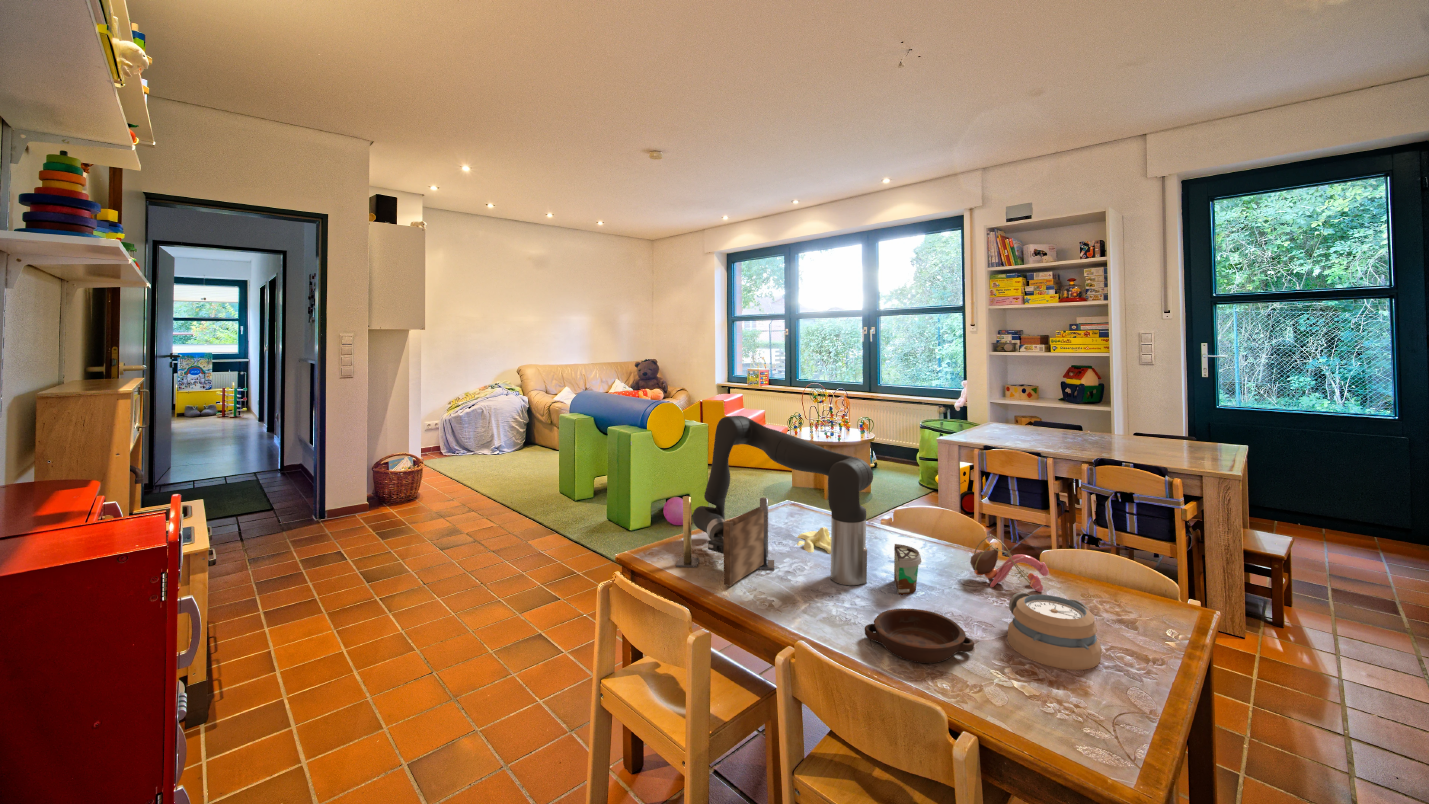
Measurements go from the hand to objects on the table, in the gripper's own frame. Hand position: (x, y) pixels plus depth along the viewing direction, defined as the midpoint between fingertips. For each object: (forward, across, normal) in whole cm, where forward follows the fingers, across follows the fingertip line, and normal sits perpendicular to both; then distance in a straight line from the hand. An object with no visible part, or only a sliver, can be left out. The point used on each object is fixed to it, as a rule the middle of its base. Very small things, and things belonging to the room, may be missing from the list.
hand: (737, 554), depth 158 cm
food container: (+18, +42, +7) cm, 46 cm away
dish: (+44, +27, +7) cm, 52 cm away
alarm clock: (+49, +56, +6) cm, 75 cm away
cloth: (-19, +34, +8) cm, 39 cm away
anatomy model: (+22, +69, +6) cm, 73 cm away
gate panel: (0, +2, +6) cm, 6 cm away
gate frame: (-11, 0, +7) cm, 13 cm away
